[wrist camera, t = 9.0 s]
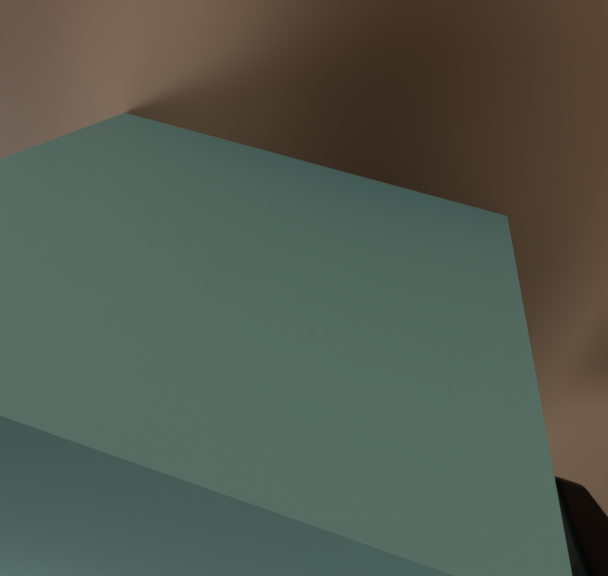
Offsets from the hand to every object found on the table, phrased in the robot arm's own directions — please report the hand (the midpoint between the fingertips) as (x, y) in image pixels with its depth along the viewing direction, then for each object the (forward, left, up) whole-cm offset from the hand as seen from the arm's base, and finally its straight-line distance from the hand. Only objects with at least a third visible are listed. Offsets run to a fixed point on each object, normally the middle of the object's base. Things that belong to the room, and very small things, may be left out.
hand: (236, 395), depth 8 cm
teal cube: (0, 0, -2) cm, 2 cm away
